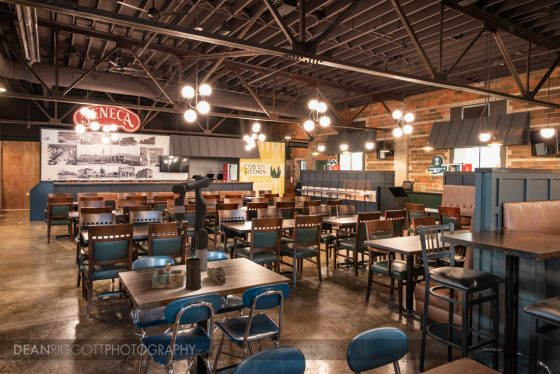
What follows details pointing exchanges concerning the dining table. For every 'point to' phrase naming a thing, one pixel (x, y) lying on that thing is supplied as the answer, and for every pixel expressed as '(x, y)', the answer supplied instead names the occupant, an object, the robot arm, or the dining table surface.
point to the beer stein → (193, 274)
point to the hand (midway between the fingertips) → (179, 234)
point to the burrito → (217, 274)
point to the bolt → (166, 268)
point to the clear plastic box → (168, 279)
